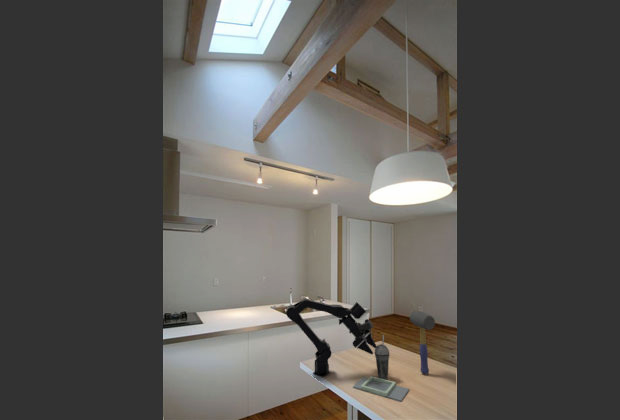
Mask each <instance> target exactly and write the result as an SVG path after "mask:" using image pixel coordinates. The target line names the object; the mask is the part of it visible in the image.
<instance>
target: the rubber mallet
mask: <svg viewBox="0 0 620 420" xmlns="http://www.w3.org/2000/svg"><path fill="white" fill-rule="evenodd" d="M409 321H410V322H411V324H413V325H415V326H417V327H419V335H420V336H419V337H420V338H419V339H420V344H419V357H420V358H419V359H420V373H421V374H422V375H425V376H428V375H429V373H430V370H429V364H428V356H429V353H428V345H427V340H426V337H427V336H426V330H428V331H431V330H432V329H434V328H435V325H436V321H435V319H434V317H433V316H432V315H430V314H427V313H425V312H422V311H417V310H413V311H411V313H410V314H409Z"/></svg>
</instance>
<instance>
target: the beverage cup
mask: <svg viewBox="0 0 620 420" xmlns="http://www.w3.org/2000/svg"><path fill="white" fill-rule="evenodd" d="M384 339H385V335H384V334H383V335H382V342H381V343H380V344H378V345H376V346H377V347H376V348H374V356H375V357H374V358H375V362H376V371H377V378H381V379H385V380H388V378H389V360H390V350H389V348H388V347H387V346H386V345H385V344H384Z"/></svg>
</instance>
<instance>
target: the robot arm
mask: <svg viewBox="0 0 620 420" xmlns="http://www.w3.org/2000/svg"><path fill="white" fill-rule="evenodd" d="M307 308H309V309H312V310H316V311H319V312H325V313H328V314H330V315H332V316H333V317H336V318H337V319H338V325H342V324H343V326H345V328H347V330H348V333H349V334H352V335H353V337H355V338H354V340H353V341H352V346H353V347H354V348H355V349H359V350H361V351H363V352H366V353H367V354H370V355H373V354H374V352H373V350H372V349H371V347H372V348H374V349H375V348H376V347H377V346H378V345H377V344H376V343H375V341H374V338H373V337H372V335H373V331H372V329H373V328H374V325H373V322H372V321H371V320H370V319H368V318H367V319H365V320H364V322H363V323H360V322H357V321H356V320H360V319H361V317H362V316H364V314H366V313H367V311H366V309H365V308H364V307H363V306H362V305H360V304H359V303H358V302H357V301H356V302H355V303H354V305H352V307H350V308H348V307H344V306H343V305H341V304H330V303H329V304H328V303H323V302H321V301H315V300H311V299H308V298H303V299H302V300H301V301H298V302H296V303H295V304H291V305H288V306H287V308H286V311H285V312H286V317H287V318H288V319H289V320H290V321H292V322H293V323H295V324H296V325H297V326H298V327H299V328H300V329H301V331H302V332H303V333H304V334H305V335H306V337H307V338H308V339H309V340H310V341H311V343H312V344H313V345H314V347H315V349H316V352H315V353H314V356H315V359H314V371H313V372H312V374H313V375H316V376H319V377H322V378H323V377H326V376H327V375H328V374H330V373H331V371H330V364H329V359H330V358H331V357H332V349H331V345H330V344H329V343H328V342H327V341H326V339H325V338H323V339H321V338H319V336H318V335H317V334H316V333H315V332H314V331H313V329H312V328H311V327H310V325H308V323H307V322H306V321H305V319H304V318H303V317H302V315H301V312H303V311H304V310H305V309H307ZM370 346H371V347H370Z"/></svg>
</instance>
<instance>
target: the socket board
mask: <svg viewBox="0 0 620 420" xmlns="http://www.w3.org/2000/svg"><path fill="white" fill-rule="evenodd" d="M352 388H353V389H356V390H359V391H362V392H366V393H369V394H373V395H376V396H379V397H382V398H386V399H389V400H393V401H397V402H400V403H401V402H402V401H403V400H404V399H405V397H406V396H407V394H408V392H409V391H410V388H407V387H404V386H400V385H397V383H396V381H393V380H388V379H387V380H385V379H381V378H378V376H377V377H376V376H373V375H371V376H369V377H366V376H363V377H362V378H361V379H359V380H358V381H357V382H356V383H354V385H352Z"/></svg>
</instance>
